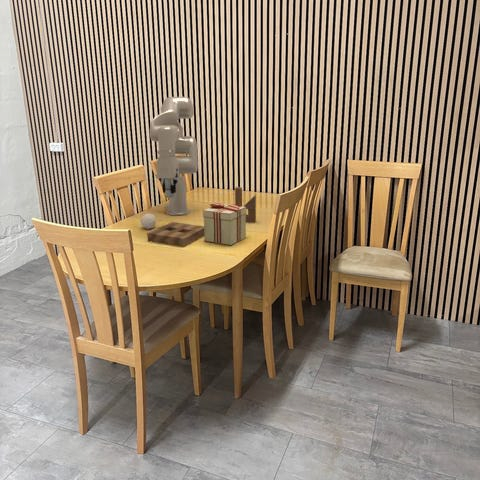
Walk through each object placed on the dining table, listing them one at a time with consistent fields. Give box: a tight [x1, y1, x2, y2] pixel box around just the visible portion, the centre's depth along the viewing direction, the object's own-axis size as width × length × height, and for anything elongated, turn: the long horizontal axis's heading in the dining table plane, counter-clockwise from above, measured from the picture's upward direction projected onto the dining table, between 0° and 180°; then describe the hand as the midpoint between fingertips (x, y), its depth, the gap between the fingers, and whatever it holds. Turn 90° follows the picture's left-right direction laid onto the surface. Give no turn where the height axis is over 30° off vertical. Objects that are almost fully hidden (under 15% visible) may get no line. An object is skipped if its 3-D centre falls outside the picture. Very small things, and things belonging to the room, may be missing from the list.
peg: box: [164, 179, 174, 199], centre depth 230 cm, size 4×4×11 cm
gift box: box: [202, 201, 247, 246], centre depth 226 cm, size 17×18×17 cm
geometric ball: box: [140, 212, 157, 230], centre depth 244 cm, size 8×8×8 cm
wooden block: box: [234, 186, 257, 224], centre depth 252 cm, size 4×11×18 cm, turn 77°
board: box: [146, 221, 205, 248], centre depth 229 cm, size 20×20×4 cm
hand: (169, 192), depth 231 cm, fingers closed on peg, 3 cm apart
